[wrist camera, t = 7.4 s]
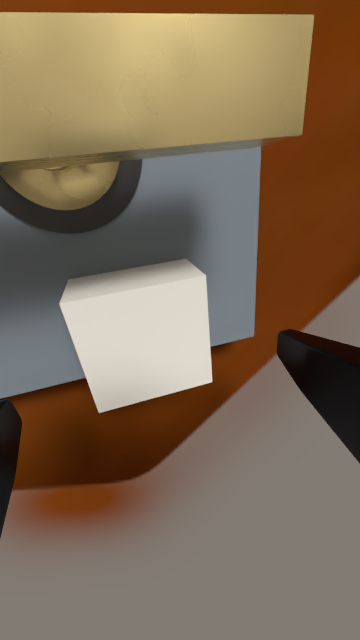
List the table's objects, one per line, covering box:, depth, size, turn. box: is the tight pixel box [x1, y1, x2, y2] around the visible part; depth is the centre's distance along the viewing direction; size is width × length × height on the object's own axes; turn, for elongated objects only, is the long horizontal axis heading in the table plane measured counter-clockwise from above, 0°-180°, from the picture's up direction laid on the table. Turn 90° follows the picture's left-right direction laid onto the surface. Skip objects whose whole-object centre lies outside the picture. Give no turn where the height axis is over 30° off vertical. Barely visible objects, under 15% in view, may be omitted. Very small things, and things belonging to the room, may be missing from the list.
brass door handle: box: [0, 12, 314, 210], centre depth 6 cm, size 4×11×5 cm, turn 96°
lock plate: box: [0, 146, 261, 399], centre depth 11 cm, size 15×12×3 cm
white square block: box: [59, 259, 212, 413], centre depth 11 cm, size 5×5×3 cm
